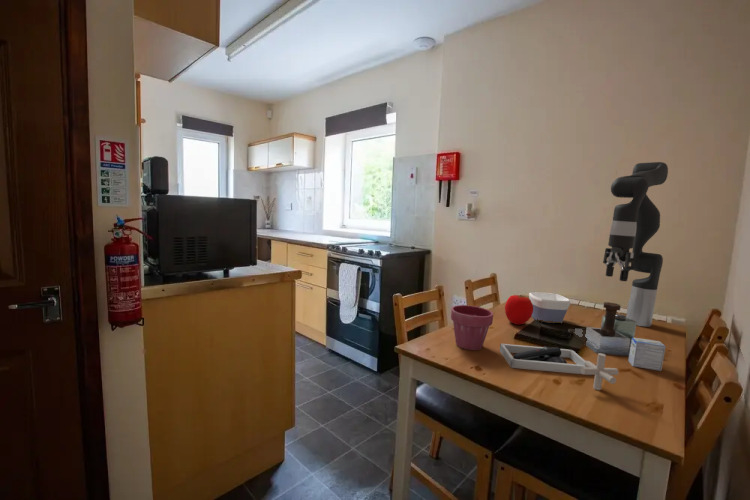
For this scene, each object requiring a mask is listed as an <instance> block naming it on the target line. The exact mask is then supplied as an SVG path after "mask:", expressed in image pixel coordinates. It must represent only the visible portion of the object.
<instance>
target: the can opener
mask: <svg viewBox="0 0 750 500" xmlns="http://www.w3.org/2000/svg"><path fill="white" fill-rule="evenodd" d="M560 349H561V348H559V347H557V346H555V347H549V346H547V345H546V346H543V348H542V349H535V350H530V351H525V352H521V353H514V354H513V355H512V356H513V358H514V359H522V360H533V361H544V362H555V363H566V364H568V362H567V360H566V359H565V357H560V355H561V350H560Z"/></svg>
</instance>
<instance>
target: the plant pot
mask: <svg viewBox="0 0 750 500" xmlns="http://www.w3.org/2000/svg"><path fill="white" fill-rule="evenodd" d="M450 319H451V320H452V323H453V332H454V333H453V334H454V339H455V344H456V346H458V347H460V348H462V349H465V350H468V351H469V350H470V351H479V350H481V349H482V348H483V346H484V343H485V340H486V337H487V334H488V332H489V328H490V326H492V325H493V322H494V321H493V320H494V313H493V311H491V310H490V309H487V308H484V307H481V306H480V307H479V306H476V305H470V304H469V305H467V304H460V305H459V304H458V305H454V306H452V307H451V312H450Z"/></svg>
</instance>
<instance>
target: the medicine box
mask: <svg viewBox="0 0 750 500" xmlns="http://www.w3.org/2000/svg"><path fill="white" fill-rule="evenodd" d="M665 352H666V345H665V344H663V343H662V342H661V341H660V340H654V339H648V338H646V339H645V338H641V337H639V338H638V337H634V338H632V341H631V347H630V353H629V356H628V362H629V364H630V365H631V366H632V367H635V368H642V369H647V370H652V371H657V372H658V371H659V372H662V369H663V364H664V358H665Z"/></svg>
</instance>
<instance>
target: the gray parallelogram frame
mask: <svg viewBox="0 0 750 500" xmlns="http://www.w3.org/2000/svg"><path fill="white" fill-rule="evenodd" d="M543 347H544V346H543ZM543 347H542V346H531V345H520V344H509V343H500V344H499V352H500V354H501V355H502V357H503V359H504V360H505V361H506V362H507V364H508V365H509V366H510V368H512V369H523V370H530V371H531V370H532V371H533V370H534V371H544V372H554V373H555V372H557V373H566V374H575V375H576V374H577V375H583V374H582V373H581V371H580V369H581V368H582V367H583V368H587V367H586V366H585V365H584V363H585V361H586V360H585V359H584V358H583V357H581V356H580V355H579V354H578V353H576V351H574V350H573V349H566V348H559V349H560V350H561V355H560V357H563V358H567V359H568V358H569V359H570V360H571V361H573V362H574V364H573V363H567V364H566V363H555V362H544V361H533V360H522V359H514V358H513V355H512V354H518V353H521V352H525V351H530V350H535V349H542V348H543ZM511 353H512V354H511ZM585 375H586V376H589V375H588V374H585Z"/></svg>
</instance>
